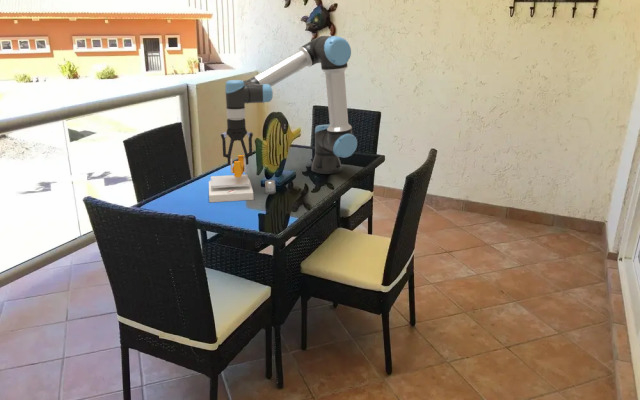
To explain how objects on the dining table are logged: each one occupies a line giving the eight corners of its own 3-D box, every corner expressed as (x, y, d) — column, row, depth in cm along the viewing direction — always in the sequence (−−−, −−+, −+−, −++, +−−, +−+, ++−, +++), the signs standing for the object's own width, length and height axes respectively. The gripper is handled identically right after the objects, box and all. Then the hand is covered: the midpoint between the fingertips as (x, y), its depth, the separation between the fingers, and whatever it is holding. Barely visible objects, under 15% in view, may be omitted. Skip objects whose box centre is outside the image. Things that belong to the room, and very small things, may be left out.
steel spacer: (274, 190, 217) (274, 179, 216) (276, 193, 213) (275, 182, 212) (264, 191, 217) (264, 180, 215) (265, 194, 213) (265, 183, 211)
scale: (249, 185, 224) (249, 173, 223) (253, 199, 206) (253, 187, 204) (209, 187, 221) (208, 175, 219) (209, 202, 202) (208, 189, 201)
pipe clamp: (235, 169, 218) (234, 154, 216) (245, 169, 218) (244, 155, 216) (230, 177, 207) (229, 162, 205) (240, 177, 207) (240, 162, 205)
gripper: (256, 116, 211) (258, 168, 218) (213, 117, 207) (217, 170, 215) (258, 119, 204) (260, 173, 211) (214, 120, 200) (217, 175, 208)
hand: (238, 172), depth 213 cm, fingers closed on pipe clamp, 5 cm apart
